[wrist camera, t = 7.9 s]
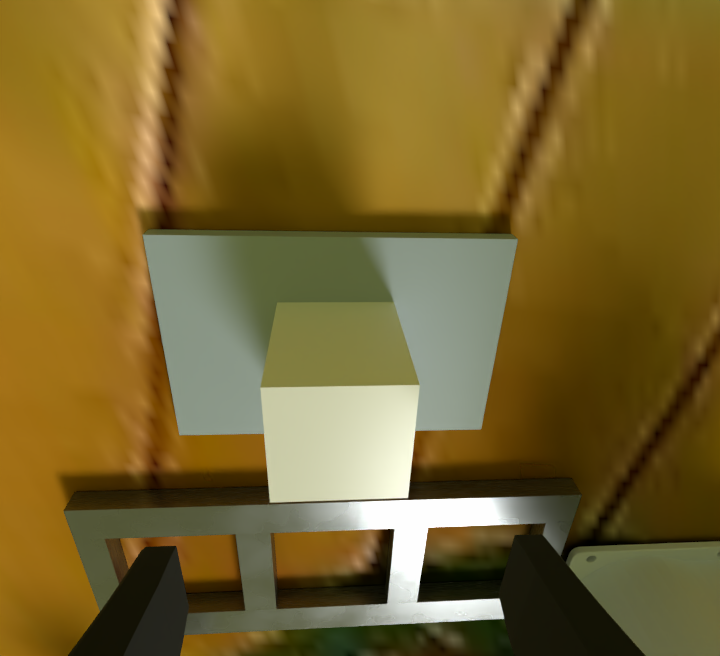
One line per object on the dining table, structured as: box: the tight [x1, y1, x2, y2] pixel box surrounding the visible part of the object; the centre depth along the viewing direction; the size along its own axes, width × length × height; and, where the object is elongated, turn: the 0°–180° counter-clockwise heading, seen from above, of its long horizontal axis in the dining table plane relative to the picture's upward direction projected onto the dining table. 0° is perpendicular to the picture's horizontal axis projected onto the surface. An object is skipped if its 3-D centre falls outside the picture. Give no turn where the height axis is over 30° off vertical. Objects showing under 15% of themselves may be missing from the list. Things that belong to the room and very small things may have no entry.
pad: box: [143, 229, 518, 435], centre depth 17 cm, size 12×8×1 cm, turn 88°
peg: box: [260, 302, 420, 503], centre depth 15 cm, size 4×4×5 cm
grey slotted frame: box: [64, 478, 582, 635], centre depth 23 cm, size 22×9×1 cm, turn 88°
